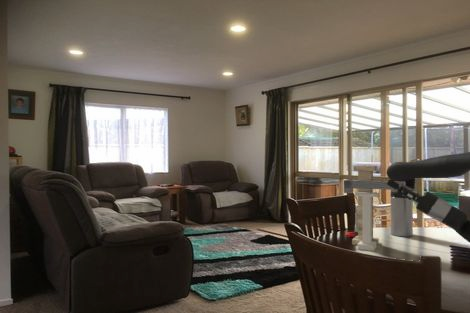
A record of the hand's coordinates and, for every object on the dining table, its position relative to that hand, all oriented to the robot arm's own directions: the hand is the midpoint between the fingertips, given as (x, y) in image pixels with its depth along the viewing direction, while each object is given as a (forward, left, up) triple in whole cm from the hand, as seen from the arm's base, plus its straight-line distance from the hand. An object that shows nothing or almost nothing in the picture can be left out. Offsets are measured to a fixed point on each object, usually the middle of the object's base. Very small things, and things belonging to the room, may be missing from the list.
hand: (389, 181), depth 140 cm
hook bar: (0, -5, -3) cm, 6 cm away
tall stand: (-8, -10, -26) cm, 29 cm away
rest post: (0, -8, -26) cm, 28 cm away
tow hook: (-22, -17, -27) cm, 39 cm away
